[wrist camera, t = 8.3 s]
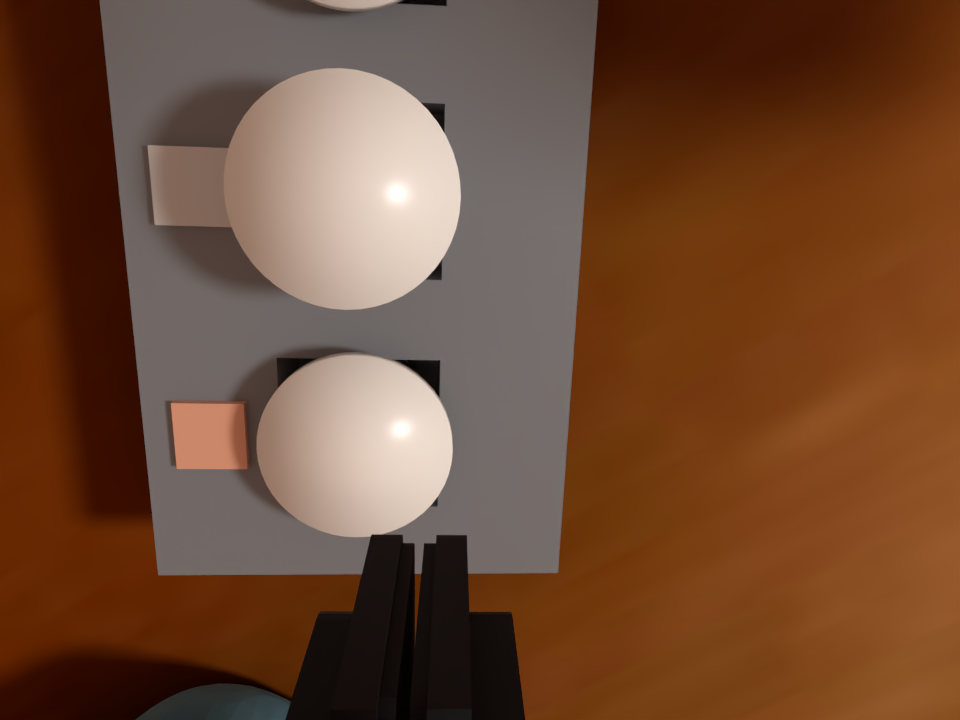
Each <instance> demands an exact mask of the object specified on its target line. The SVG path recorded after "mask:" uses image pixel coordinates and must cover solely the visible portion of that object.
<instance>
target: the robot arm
mask: <svg viewBox="0 0 960 720" xmlns="http://www.w3.org/2000/svg"><path fill="white" fill-rule="evenodd" d="M285 720H525V715H524V707H523V699H522V691H521V683H520V675H519V666H518V658H517V650H516V642H515V634H514V626H513V618H512V614H511V612H469V592H468V555H467V535H436V543H424V550H423V561H422V572H421V584H420V595H419V607H418V618H417V630H416V641H415V544H414V543H403V535H387V534H372V535H371V537H370V542H369V546H368V550H367V555H366V559H365V563H364V567H363V572H362V576H361V580H360V585H359V589H358V593H357V597H356V602H355V606H354V610H353V612H320V613H319V614H318V617H317V619H316V622H315V626H314V629H313V632H312V635H311V639H310V642H309V645H308V648H307V651H306V655H305V658H304V661H303V664H302V668H301V671H300V674H299V677H298V680H297V684H296V687H295V690H294V693H293V697H292V700H291V703H290V706H289V709H288V713H287V716H286V719H285Z"/></svg>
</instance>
